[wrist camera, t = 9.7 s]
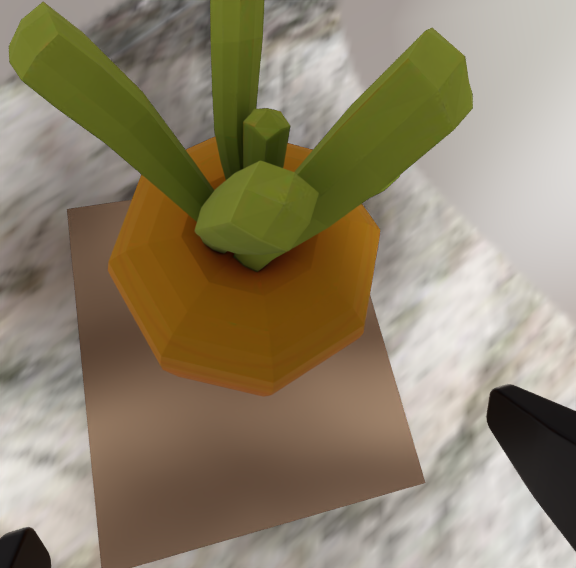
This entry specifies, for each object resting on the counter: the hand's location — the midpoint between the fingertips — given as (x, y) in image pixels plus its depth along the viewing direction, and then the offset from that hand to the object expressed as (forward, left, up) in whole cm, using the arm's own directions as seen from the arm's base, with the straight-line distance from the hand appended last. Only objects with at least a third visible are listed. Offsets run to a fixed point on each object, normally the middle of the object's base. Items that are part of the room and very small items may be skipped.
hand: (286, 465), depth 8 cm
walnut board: (+4, 0, -10) cm, 11 cm away
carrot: (+4, 0, -9) cm, 10 cm away
